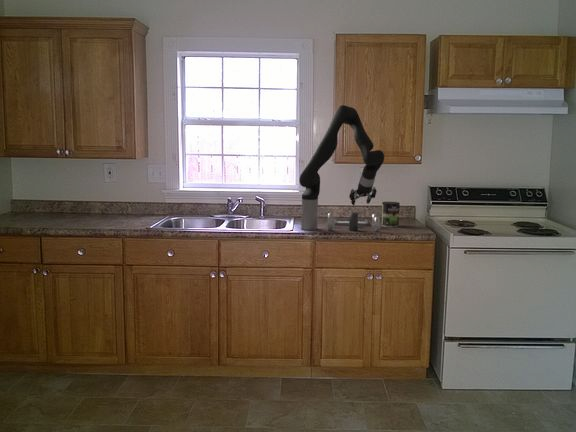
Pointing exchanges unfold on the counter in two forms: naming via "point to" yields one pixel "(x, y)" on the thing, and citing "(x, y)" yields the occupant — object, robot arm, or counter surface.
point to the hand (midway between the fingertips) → (360, 203)
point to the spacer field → (374, 222)
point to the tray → (346, 222)
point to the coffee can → (390, 214)
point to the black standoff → (353, 221)
